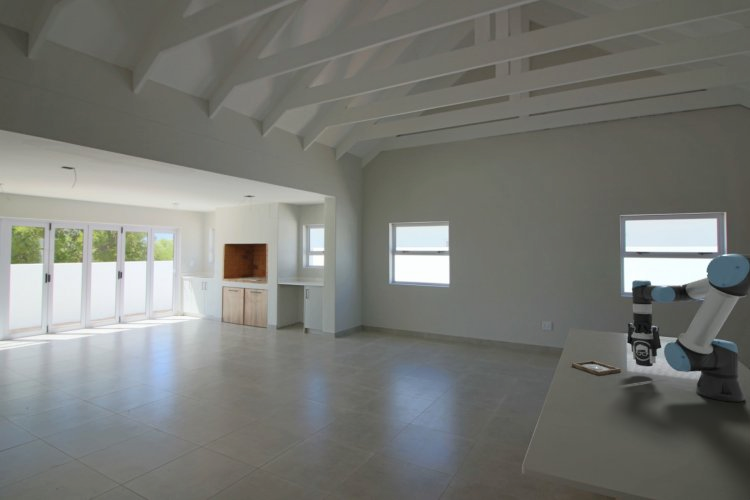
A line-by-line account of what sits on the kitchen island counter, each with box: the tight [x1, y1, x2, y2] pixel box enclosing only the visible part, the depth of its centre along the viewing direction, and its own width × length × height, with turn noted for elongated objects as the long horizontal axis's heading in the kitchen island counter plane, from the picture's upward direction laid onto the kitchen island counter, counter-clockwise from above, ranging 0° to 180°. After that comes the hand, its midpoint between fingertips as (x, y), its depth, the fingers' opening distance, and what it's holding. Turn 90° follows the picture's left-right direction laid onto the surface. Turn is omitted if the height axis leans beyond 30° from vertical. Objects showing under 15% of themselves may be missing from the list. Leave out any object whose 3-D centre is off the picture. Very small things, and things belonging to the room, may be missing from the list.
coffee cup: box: [631, 332, 654, 367], centre depth 188 cm, size 10×10×15 cm
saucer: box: [582, 364, 610, 371], centre depth 198 cm, size 13×13×1 cm
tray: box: [571, 360, 622, 376], centre depth 198 cm, size 16×14×3 cm
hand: (644, 361), depth 188 cm, fingers closed on coffee cup, 7 cm apart
